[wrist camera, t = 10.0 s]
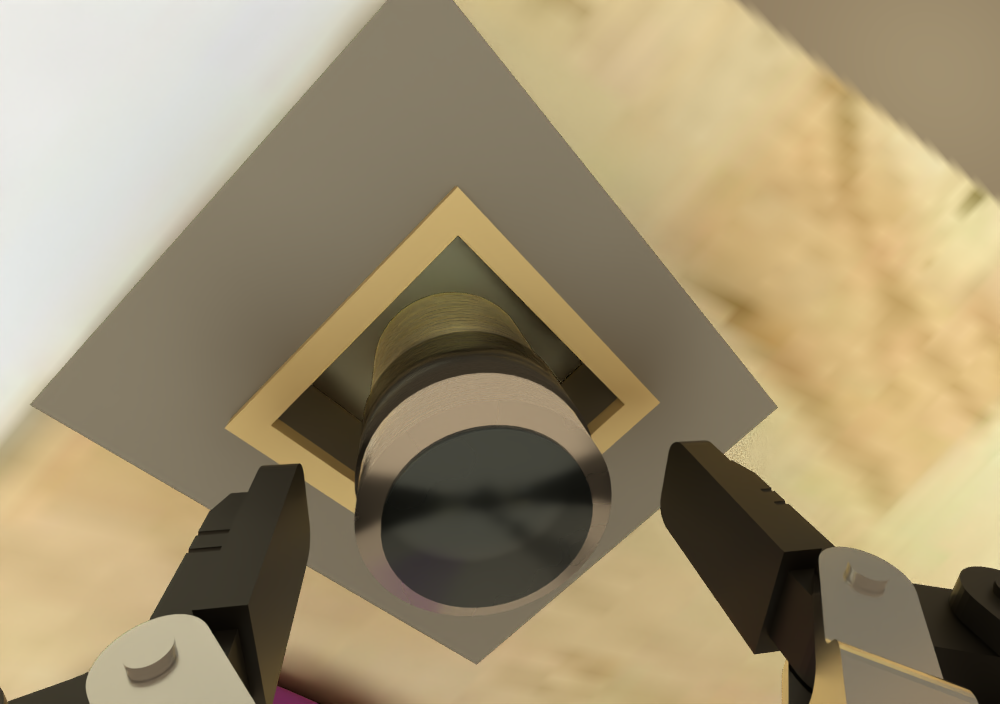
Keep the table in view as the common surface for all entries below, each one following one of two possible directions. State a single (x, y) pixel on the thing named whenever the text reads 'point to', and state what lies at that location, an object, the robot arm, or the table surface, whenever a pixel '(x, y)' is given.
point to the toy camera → (289, 697)
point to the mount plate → (380, 280)
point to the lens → (472, 464)
